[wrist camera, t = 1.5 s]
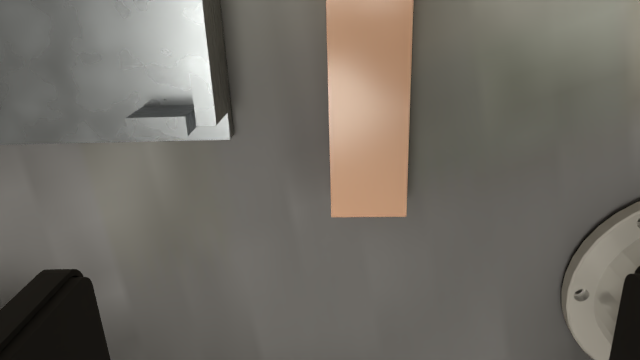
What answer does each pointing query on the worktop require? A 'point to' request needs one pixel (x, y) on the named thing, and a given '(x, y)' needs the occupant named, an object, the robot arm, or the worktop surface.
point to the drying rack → (112, 71)
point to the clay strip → (369, 105)
